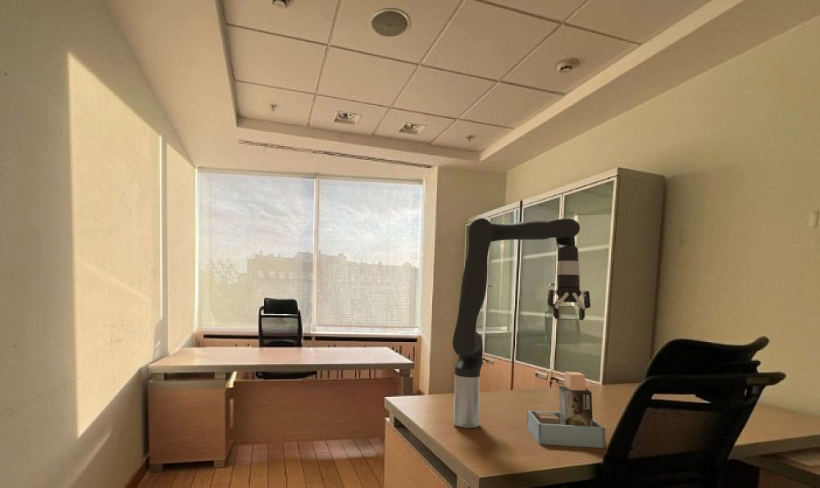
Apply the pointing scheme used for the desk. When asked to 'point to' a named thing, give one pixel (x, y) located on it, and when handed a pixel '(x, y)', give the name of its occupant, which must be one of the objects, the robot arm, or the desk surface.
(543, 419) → the block
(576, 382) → the cube
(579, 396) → the coffee box
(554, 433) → the tote
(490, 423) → the desk surface
